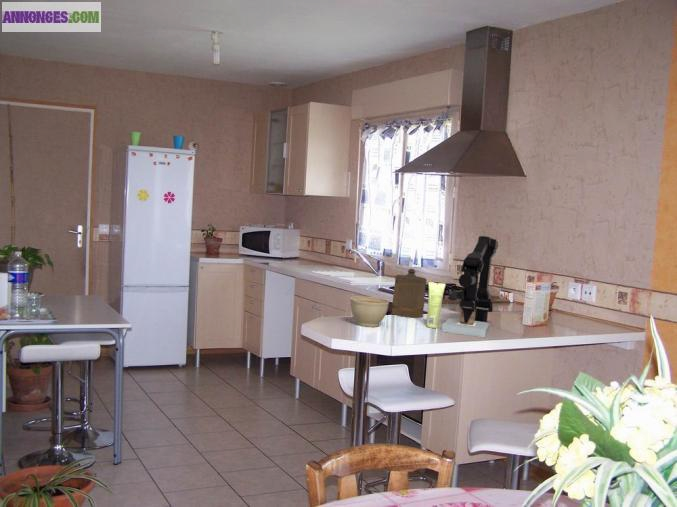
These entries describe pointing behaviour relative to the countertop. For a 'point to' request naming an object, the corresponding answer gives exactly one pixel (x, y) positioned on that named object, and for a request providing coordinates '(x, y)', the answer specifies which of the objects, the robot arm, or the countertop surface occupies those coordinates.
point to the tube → (434, 303)
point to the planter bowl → (368, 310)
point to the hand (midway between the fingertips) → (467, 321)
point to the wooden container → (409, 295)
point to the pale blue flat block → (465, 327)
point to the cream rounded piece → (470, 321)
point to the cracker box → (536, 303)
